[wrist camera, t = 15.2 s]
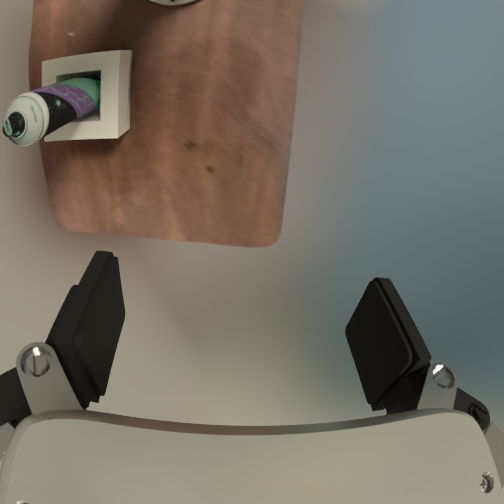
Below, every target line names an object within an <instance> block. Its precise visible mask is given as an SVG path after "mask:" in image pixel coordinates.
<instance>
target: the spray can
mask: <svg viewBox="0 0 504 504" xmlns="http://www.w3.org/2000/svg"><path fill="white" fill-rule="evenodd" d="M100 94H101V76H99V75H95V74H92V75H86V76H82V77H78V78H73V79H70V80H66V81H62V82H58V83H55V84H52V85H48V86H45V87H42V88H38V89H35V90H32V91H29V92H26V93H24V94H21V95H19V96H18V97H16V98H15V99H13V100H12V101H11V102H10V104H9V105H8V107H7V109H6V111H5V116H4V125H3V133H4V135H5V136H7V137H9V139H10V140H11V141H12V142H13V143H14V144H16V145H18V146H29V145H31V144H34V143H36V142H37V141H39V140H41V139H42V138H44V137H45V136H47V135H49V134H50V133H52V132H54V131H56V130H57V129H59V128H61V127H62V126H64V125H66V124H68V123H70V122H71V121H73V120H75V119H77V118H79V117H81V116H83V115H85V114H87V113H88V112H90V111H92V110H94V109H96V108H98V107H100Z"/></svg>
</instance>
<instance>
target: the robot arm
mask: <svg viewBox="0 0 504 504" xmlns="http://www.w3.org/2000/svg"><path fill="white" fill-rule="evenodd" d="M150 1H152V2H154V3H157V4H161V5H171V6H176V5H183V4H187V3H191V2H194V1H196V0H175V1H174V2H172V0H150ZM124 319H125V307H124V301H123V294H122V287H121V280H120V271H119V263H118V258H117V257H114V256H113V253H112V252H106V251H96V252H95V254H94V256H93V258H92V260H91V262H90V263H89V265H88V267H87V269H86V271H85V273H84V275H83V277H82V279H81V281H80V283H79V285H73V286H72V287H71V289H70V291H69V293H68V295H67V297H66V299H65V301H64V303H63V305H62V307H61V309H60V311H59V313H58V316H57V318H56V320H55V322H54V324H53V326H52V328H51V331H50V333H49V335H48V338H47V340H46V342H45V343H42V342H35V343H31V344H29V345H27V346H25V347H24V348H23V349H22V350H21V351H20V353H19V354H18V356H17V360H16V367H15V368H13V369H11V370H9V371H7V372H5V373H4V374H2V375H0V460H1V459H2V458H3V457H4V458H3V462H2V465H1V470H0V504H504V495H503V491H502V488H503V486H504V434H503V433H502V432H501V430H500V429H499V428H498V427H497V426H496V425H495V424H494V423H493V422H491V423H490V416H489V412H488V410H487V408H486V407H485V405H484V404H482V403H481V402H480V401H478V400H477V399H475V398H473V397H472V396H470V395H469V394H467V393H466V392H464V391H463V390H461V389H459V388H458V387H457V385H458V383H457V381H458V380H457V376H456V374H455V372H454V370H453V369H452V368H451V367H450V366H448V365H447V364H445V363H443V362H434V363H432V364H430V362H429V361H430V360H431V355H430V353H429V351H428V349H427V347H426V345H425V343H424V341H423V339H422V337H421V335H420V333H419V331H418V329H417V327H416V325H415V323H414V321H413V320H412V318H411V316H410V314H409V312H408V310H407V308H406V306H405V305H404V303H403V301H402V299H401V298H400V296H399V294H398V292H397V290H396V289H395V287H394V285H393V283H392V282H391V280H390V279H388V278H378V277H377V278H374V279H373V281H370V282H369V284H368V286H367V288H366V290H365V292H364V294H363V297H362V298H361V300H360V302H359V304H358V306H357V308H356V309H355V311H354V313H353V315H352V317H351V319H350V321H349V323H348V324H347V326H346V330H345V333H346V338H347V341H348V344H349V347H350V350H351V353H352V356H353V359H354V362H355V365H356V368H357V371H358V374H359V377H360V380H361V383H362V387H363V390H364V393H365V397H366V400H367V402H368V404H371V407H372V411H376V410H383V409H385V408H386V411H387V413H386V415H384V416H378V417H371V418H364V419H357V420H348V421H339V422H329V423H318V424H303V425H281V426H227V425H206V424H191V423H179V422H170V421H160V420H152V419H144V418H136V417H129V416H122V415H116V414H110V413H102V412H96V411H87V410H86V408H87V407H89V403H90V401H92V402H96V403H98V402H99V398H100V395H101V396H104V395H105V392H106V388H107V383H108V379H109V375H110V371H111V367H112V363H113V359H114V355H115V351H116V348H117V344H118V341H119V337H120V333H121V330H122V326H123V323H124ZM5 450H6V451H5ZM4 451H5V455H3V452H4Z"/></svg>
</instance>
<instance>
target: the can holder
mask: <svg viewBox="0 0 504 504" xmlns="http://www.w3.org/2000/svg"><path fill="white" fill-rule="evenodd" d="M132 59H133V50H114V51H104V52H95V53H87V54H80V55H74V56H67V57H62V58H56V59H51V60H46V61H42V87H45V86H48V85H52V84H55V83H58V82H62V81H66V80H70V79H73V78H78V77H82V76H86V75H92V74H95V75H99V76H101V94H100V107H98V108H96V109H94V110H92V111H90V112H88V113H87V114H85V115H83V116H81V117H79V118H77V119H75V120H73V121H71V122H70V123H68V124H66V125H64V126H62V127H61V128H59V129H57V130H56V131H54V132H52V133H50V134H49V135H47V136H45V137H44V141H45V142H48V141H61V140H79V139H108V138H119V137H120V136H121V135H122V134H124V133H125V132H126V131H127V130H129V129H130V94H131V74H132Z"/></svg>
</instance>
